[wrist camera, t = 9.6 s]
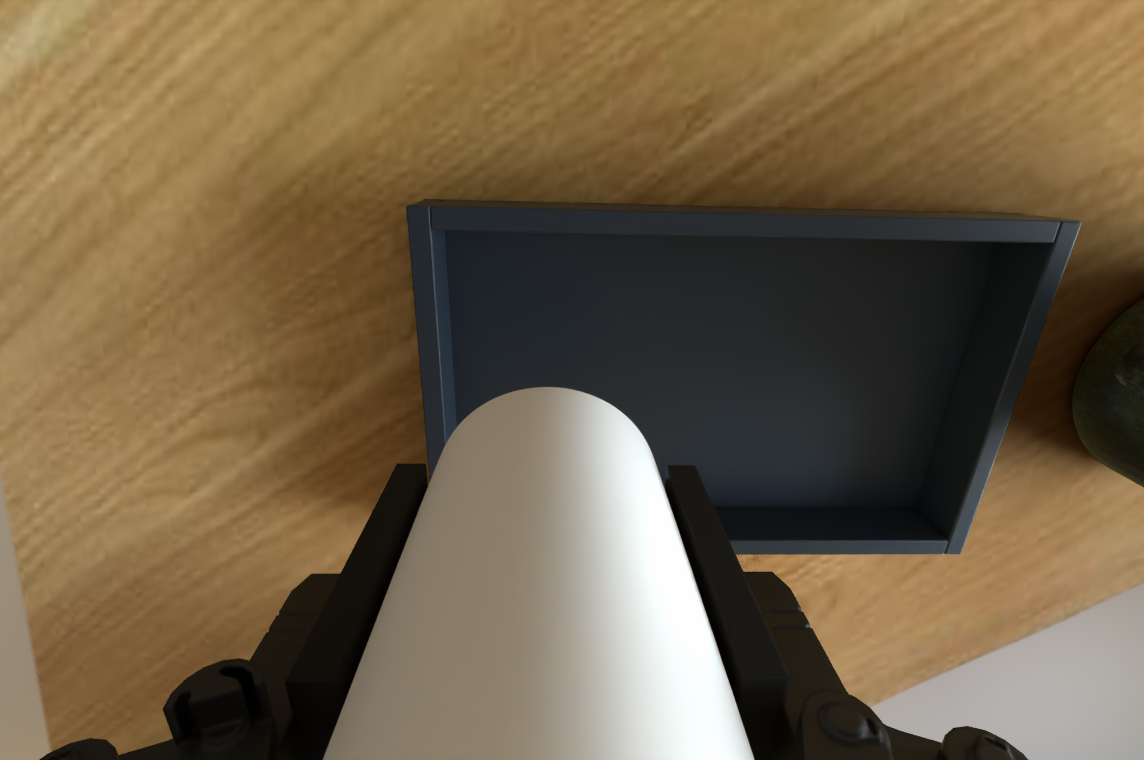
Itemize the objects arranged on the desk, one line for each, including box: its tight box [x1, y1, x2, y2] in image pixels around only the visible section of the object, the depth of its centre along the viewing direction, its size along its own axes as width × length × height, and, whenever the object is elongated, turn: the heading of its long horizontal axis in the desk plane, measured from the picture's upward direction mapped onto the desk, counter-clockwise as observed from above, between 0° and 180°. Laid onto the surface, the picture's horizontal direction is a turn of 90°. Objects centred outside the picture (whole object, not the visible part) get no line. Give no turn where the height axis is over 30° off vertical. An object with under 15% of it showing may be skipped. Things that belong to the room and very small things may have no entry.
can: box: [323, 387, 754, 760], centre depth 11 cm, size 6×6×12 cm
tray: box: [406, 199, 1081, 554], centre depth 23 cm, size 24×15×3 cm, turn 89°
